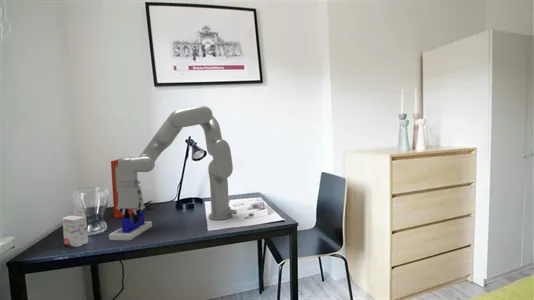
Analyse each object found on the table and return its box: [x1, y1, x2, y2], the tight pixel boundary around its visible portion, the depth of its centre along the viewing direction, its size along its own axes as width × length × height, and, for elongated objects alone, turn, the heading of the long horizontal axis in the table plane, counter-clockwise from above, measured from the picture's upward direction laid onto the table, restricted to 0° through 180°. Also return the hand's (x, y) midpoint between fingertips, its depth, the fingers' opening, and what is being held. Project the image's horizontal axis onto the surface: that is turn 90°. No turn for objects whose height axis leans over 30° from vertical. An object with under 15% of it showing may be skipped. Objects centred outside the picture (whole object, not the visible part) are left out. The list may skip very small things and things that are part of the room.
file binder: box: [110, 158, 134, 219], centre depth 156 cm, size 8×17×32 cm, turn 13°
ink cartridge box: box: [61, 207, 89, 248], centre depth 113 cm, size 9×5×15 cm, turn 70°
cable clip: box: [121, 211, 145, 233], centre depth 125 cm, size 12×4×6 cm, turn 172°
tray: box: [108, 221, 153, 241], centre depth 124 cm, size 10×17×2 cm, turn 173°
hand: (131, 222), depth 124 cm, fingers closed on cable clip, 4 cm apart
